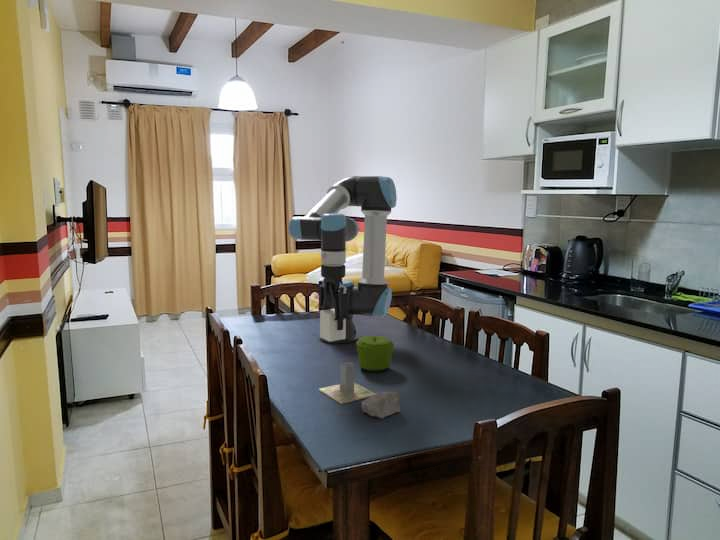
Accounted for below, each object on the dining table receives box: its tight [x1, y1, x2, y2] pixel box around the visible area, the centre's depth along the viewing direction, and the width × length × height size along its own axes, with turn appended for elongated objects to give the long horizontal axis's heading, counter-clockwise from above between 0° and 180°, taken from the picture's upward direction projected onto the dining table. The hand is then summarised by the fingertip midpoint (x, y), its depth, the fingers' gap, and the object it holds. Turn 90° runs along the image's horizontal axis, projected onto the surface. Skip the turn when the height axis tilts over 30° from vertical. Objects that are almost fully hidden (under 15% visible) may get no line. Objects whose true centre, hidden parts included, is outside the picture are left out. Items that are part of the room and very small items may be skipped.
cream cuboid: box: [319, 309, 346, 342], centre depth 166 cm, size 6×6×9 cm
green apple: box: [355, 335, 395, 372], centre depth 177 cm, size 12×12×11 cm
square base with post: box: [318, 361, 377, 405], centre depth 155 cm, size 12×12×9 cm
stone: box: [361, 391, 401, 419], centre depth 142 cm, size 8×10×6 cm
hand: (332, 336), depth 167 cm, fingers closed on cream cuboid, 6 cm apart
